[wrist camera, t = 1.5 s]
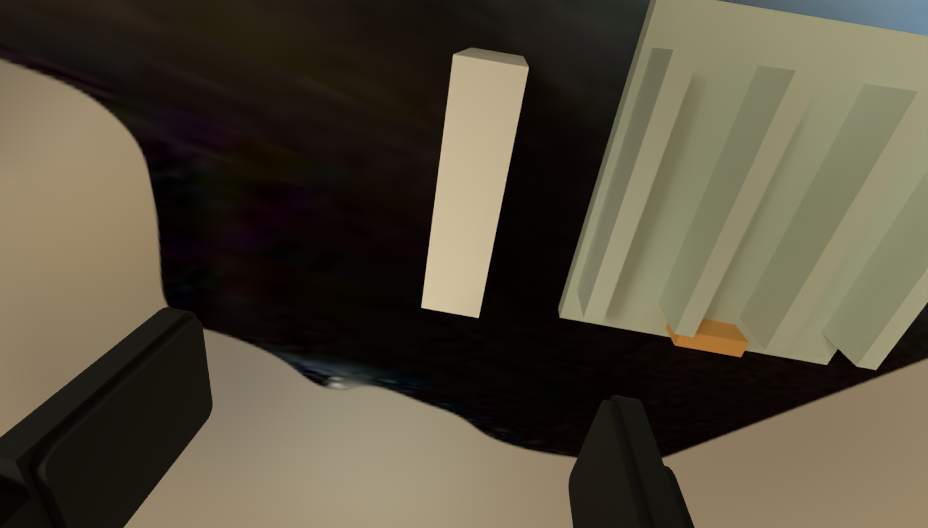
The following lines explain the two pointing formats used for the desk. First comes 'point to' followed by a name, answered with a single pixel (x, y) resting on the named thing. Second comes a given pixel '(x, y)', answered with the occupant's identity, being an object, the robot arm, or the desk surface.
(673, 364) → the desk surface
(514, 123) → the panel
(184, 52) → the desk surface
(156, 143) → the desk surface
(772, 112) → the rack
